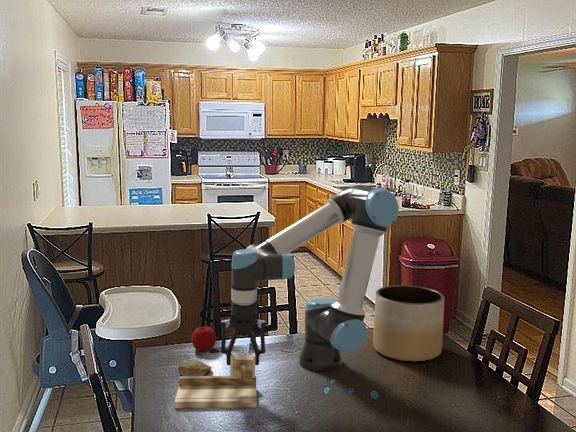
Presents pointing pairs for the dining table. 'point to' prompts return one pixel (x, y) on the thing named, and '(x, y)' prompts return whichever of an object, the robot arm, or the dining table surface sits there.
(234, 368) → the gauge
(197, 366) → the rock
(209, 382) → the board
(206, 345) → the apple
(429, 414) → the dining table surface
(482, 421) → the dining table surface
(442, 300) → the planter
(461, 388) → the dining table surface
